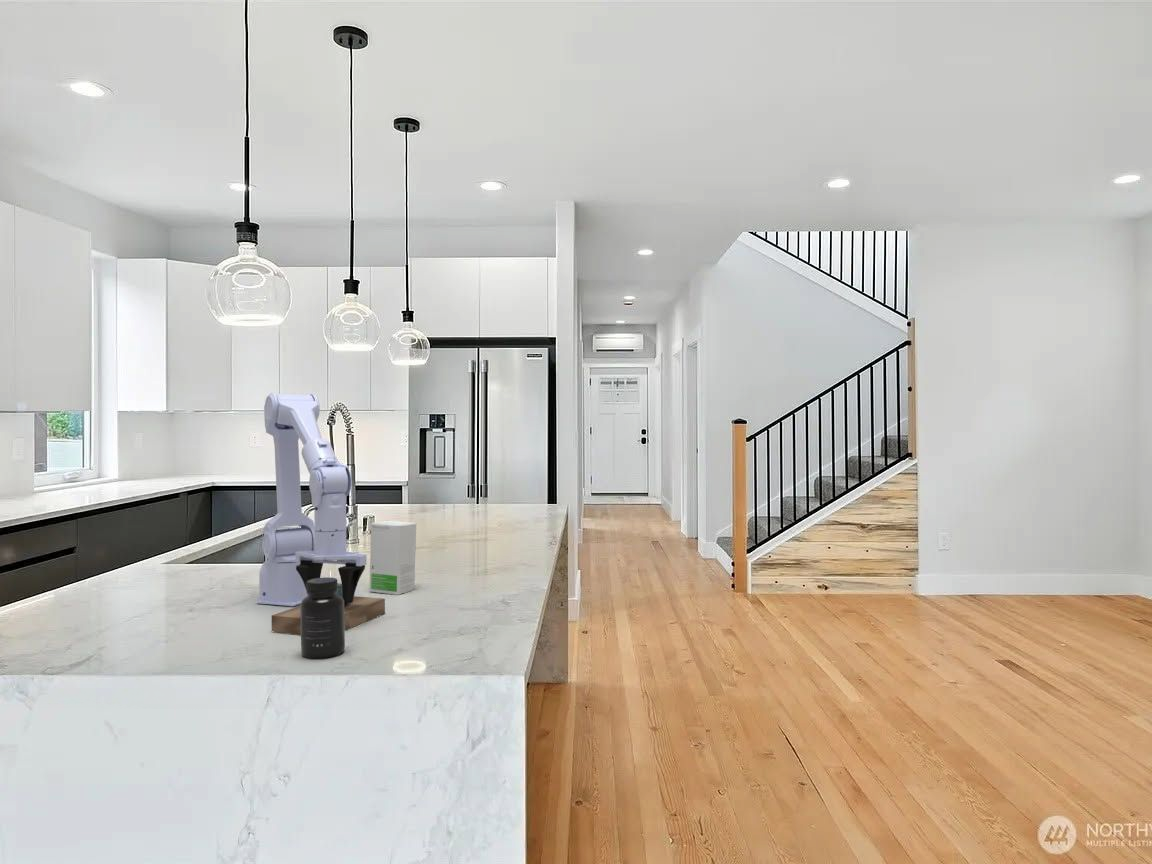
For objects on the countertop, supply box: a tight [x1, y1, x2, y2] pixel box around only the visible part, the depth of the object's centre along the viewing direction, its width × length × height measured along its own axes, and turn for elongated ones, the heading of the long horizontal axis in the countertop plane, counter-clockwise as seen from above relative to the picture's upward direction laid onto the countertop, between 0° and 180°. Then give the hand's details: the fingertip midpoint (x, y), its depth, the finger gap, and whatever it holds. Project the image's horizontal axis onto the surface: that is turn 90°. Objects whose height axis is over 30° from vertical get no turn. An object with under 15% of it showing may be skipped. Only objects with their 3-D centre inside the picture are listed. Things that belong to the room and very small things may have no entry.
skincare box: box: [369, 519, 417, 596], centre depth 171 cm, size 8×7×16 cm
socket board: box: [271, 595, 386, 636], centre depth 143 cm, size 12×18×3 cm, turn 162°
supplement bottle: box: [299, 576, 346, 660], centre depth 123 cm, size 7×7×12 cm
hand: (330, 601), depth 143 cm, fingers open, 7 cm apart
